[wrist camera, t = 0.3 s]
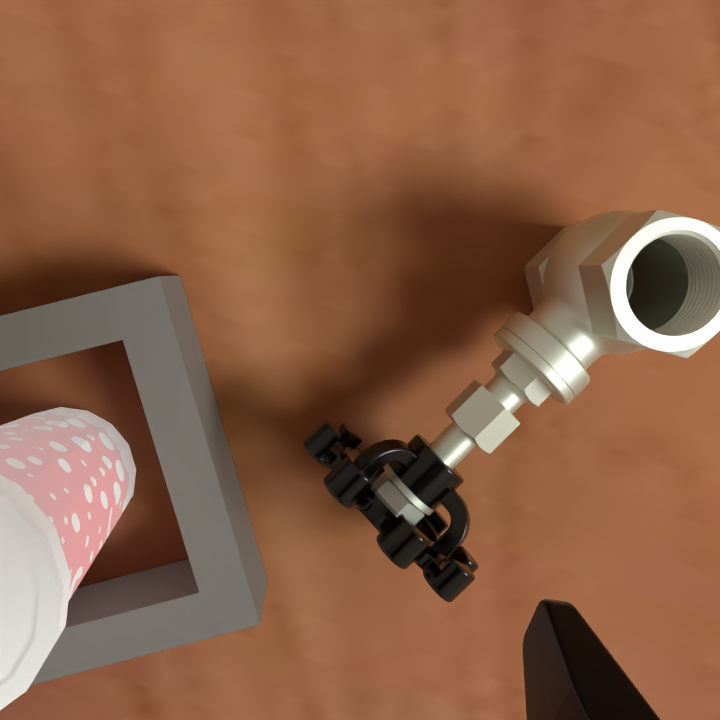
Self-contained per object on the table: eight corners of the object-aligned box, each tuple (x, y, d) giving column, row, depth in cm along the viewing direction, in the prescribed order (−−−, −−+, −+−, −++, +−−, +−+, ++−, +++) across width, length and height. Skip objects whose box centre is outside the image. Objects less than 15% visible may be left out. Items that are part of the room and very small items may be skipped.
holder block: (267, 580, 24) (259, 624, 21) (-40, 661, 23) (-92, 717, 20) (180, 275, 22) (158, 276, 19) (-151, 357, 22) (-224, 371, 19)
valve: (554, 167, 23) (304, 418, 23) (650, 124, 16) (299, 475, 17) (681, 305, 24) (437, 544, 24) (820, 318, 17) (481, 645, 18)
